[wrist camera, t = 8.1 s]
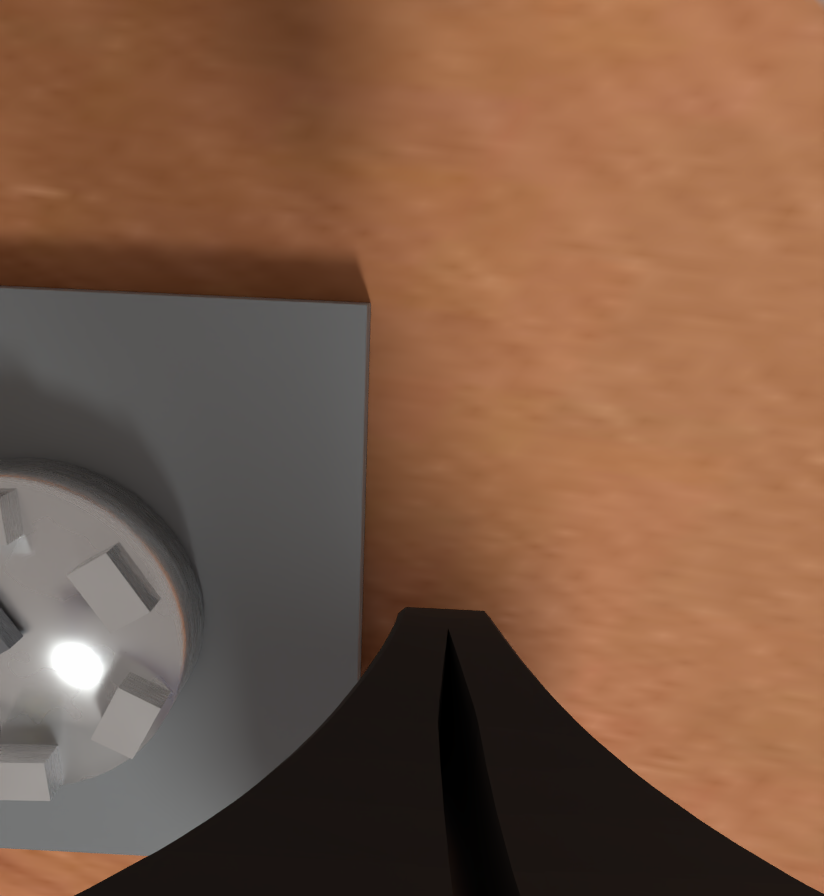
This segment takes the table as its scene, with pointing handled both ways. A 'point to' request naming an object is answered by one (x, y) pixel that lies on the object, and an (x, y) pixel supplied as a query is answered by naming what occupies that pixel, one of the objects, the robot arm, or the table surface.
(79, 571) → the lathe jaw chuck
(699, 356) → the table surface
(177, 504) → the base plate
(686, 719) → the table surface
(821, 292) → the table surface
